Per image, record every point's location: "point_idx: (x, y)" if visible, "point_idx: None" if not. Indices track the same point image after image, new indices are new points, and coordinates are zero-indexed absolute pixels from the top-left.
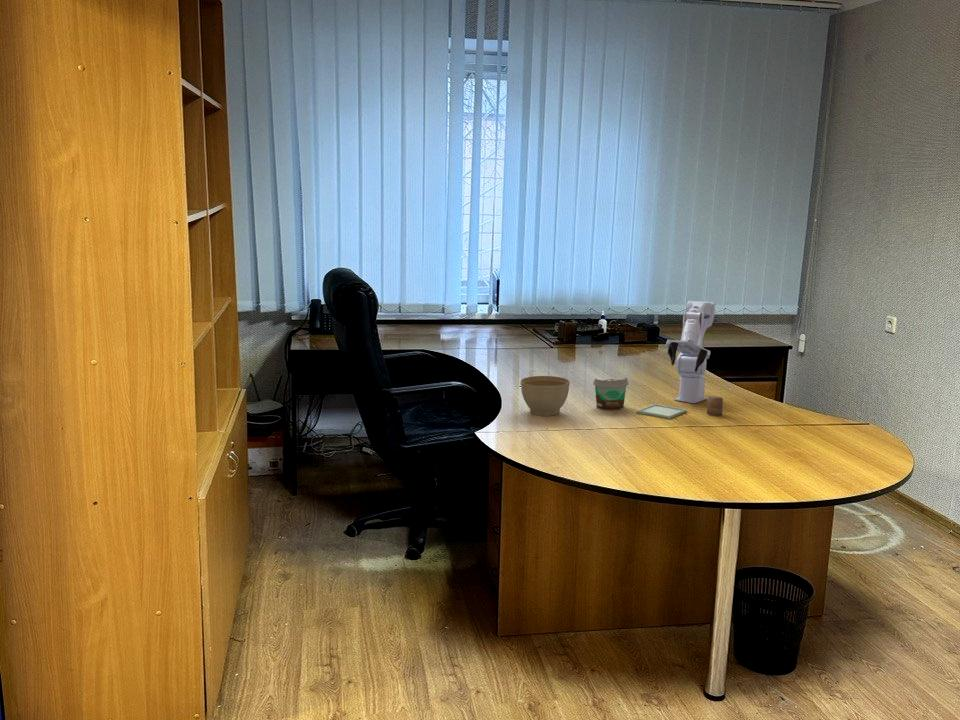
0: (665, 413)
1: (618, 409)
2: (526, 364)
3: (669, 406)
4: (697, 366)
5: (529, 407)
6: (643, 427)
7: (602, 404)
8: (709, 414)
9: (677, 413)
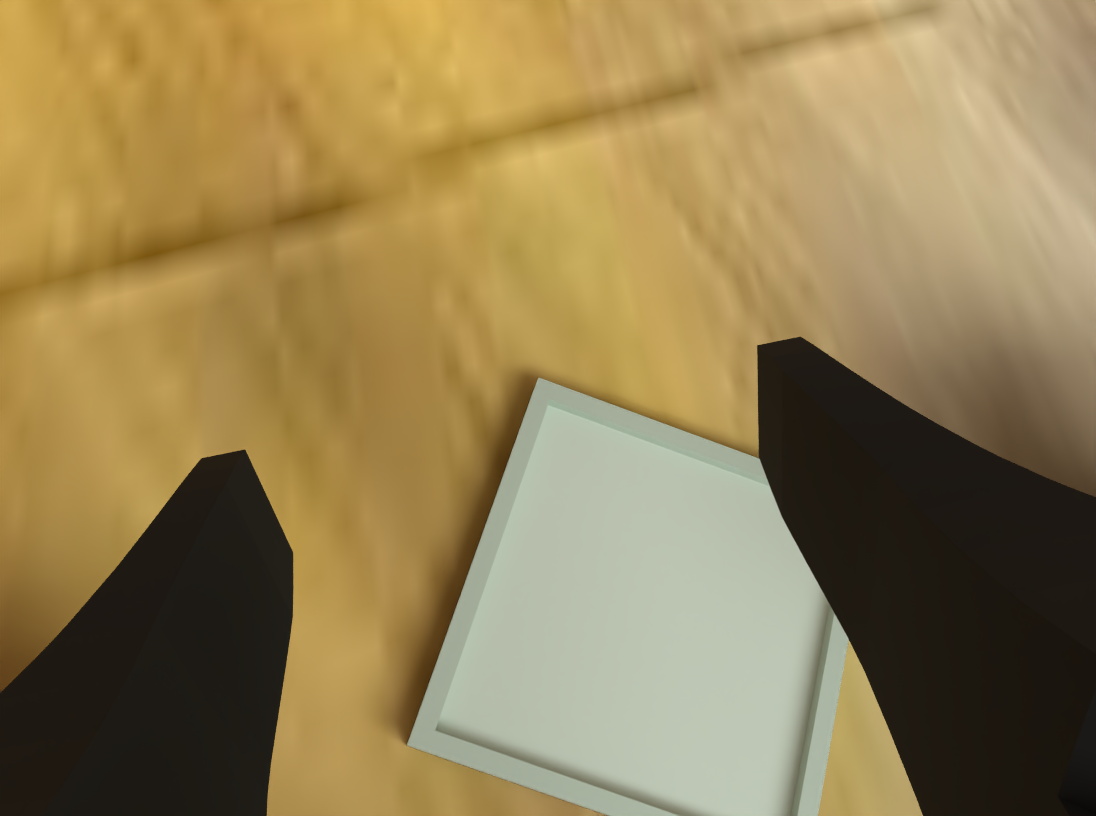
0: (602, 534)
1: None
2: None
3: (617, 811)
4: (212, 468)
5: None
6: (672, 92)
7: None
8: None
9: (483, 533)
